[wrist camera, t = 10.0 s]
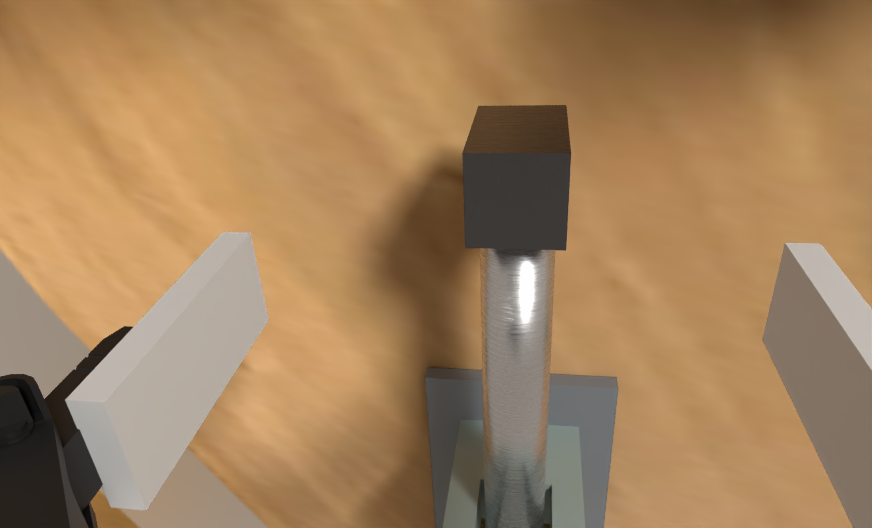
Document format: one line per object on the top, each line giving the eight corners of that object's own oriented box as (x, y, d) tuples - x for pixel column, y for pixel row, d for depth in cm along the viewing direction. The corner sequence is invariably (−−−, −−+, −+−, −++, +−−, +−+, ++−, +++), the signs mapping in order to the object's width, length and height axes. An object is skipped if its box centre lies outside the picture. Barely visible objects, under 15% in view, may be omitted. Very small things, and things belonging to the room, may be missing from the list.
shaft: (548, 485, 37) (549, 580, 32) (485, 480, 38) (475, 572, 32) (566, 105, 27) (570, 153, 22) (478, 105, 27) (462, 153, 22)
